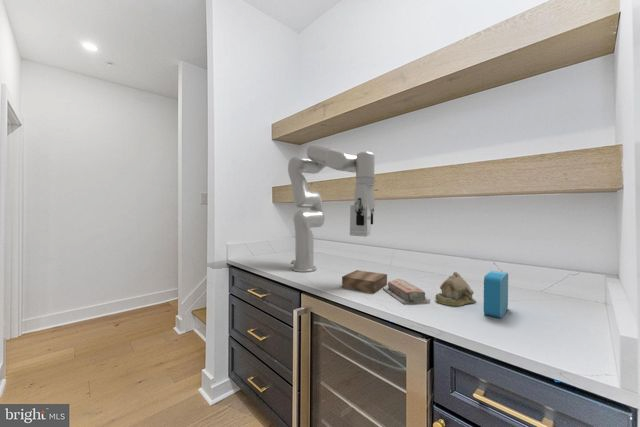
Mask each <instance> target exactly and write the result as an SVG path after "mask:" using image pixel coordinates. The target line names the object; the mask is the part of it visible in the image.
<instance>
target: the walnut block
mask: <svg viewBox="0 0 640 427" xmlns="http://www.w3.org/2000/svg"><path fill="white" fill-rule="evenodd" d="M387 286H388V274H387V273H382V272H381V273H379V272H374V271H365V270H359V269H357V270H354V271H351V272H349V273H347V274H345V275H343V276H342V277H341V288H342V289H347V290H352V291H358V292H364V293H369V294H377V293H378V292H379V291H381V290H382V289H383V288H385V287H387Z"/></svg>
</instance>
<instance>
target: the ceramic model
mask: <svg viewBox="0 0 640 427" xmlns="http://www.w3.org/2000/svg"><path fill="white" fill-rule="evenodd" d="M439 288H440V290H441V292H439V293H437V294H435V297H434V298H435V300H436V302H437V303H438V304H442V305H447V306H454V307H457V306H459V307H460V306H464V305H467V304H474V303H476V302H477V301H476V300H475V299H474V298H473V295H474V291H473V290H472V288H471V287H470V285H469V284H468V282H467V281H466V280H465V279H464V278H463V277H462V276H461V274H460V273H458V272H455V271H454V272H453V273H452V274H451V275H450V276H448V278H446V279H445V280H444V281H443V282H442V284H441V285H440V286H439Z"/></svg>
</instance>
